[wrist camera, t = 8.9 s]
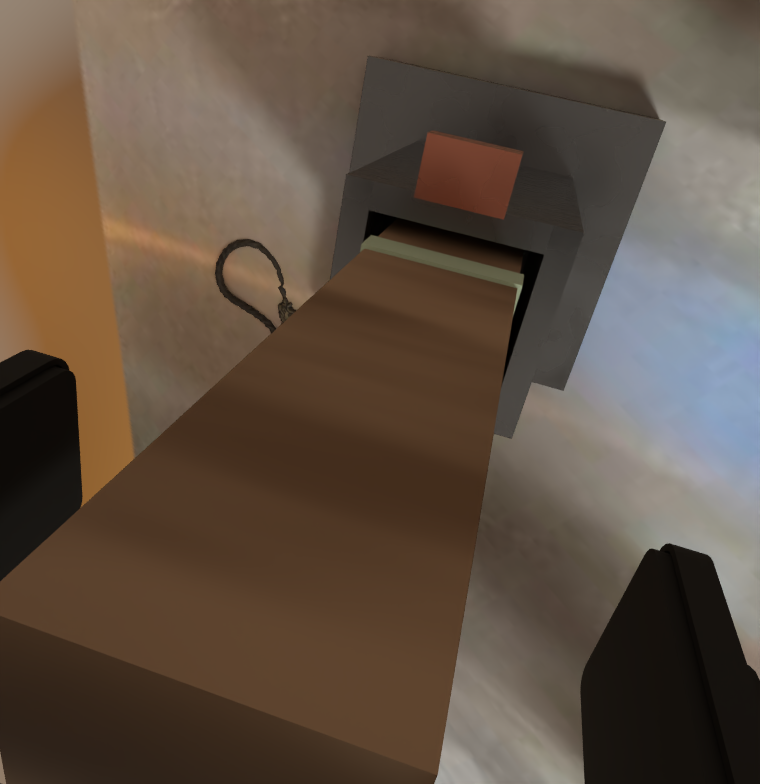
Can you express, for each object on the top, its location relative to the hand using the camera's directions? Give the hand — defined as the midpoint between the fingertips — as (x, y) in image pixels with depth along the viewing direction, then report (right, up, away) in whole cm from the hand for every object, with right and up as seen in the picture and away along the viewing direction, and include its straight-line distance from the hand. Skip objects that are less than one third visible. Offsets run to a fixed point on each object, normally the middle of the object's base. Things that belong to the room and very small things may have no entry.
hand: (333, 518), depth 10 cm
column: (+3, +6, +11) cm, 13 cm away
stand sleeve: (+5, +10, +19) cm, 22 cm away
